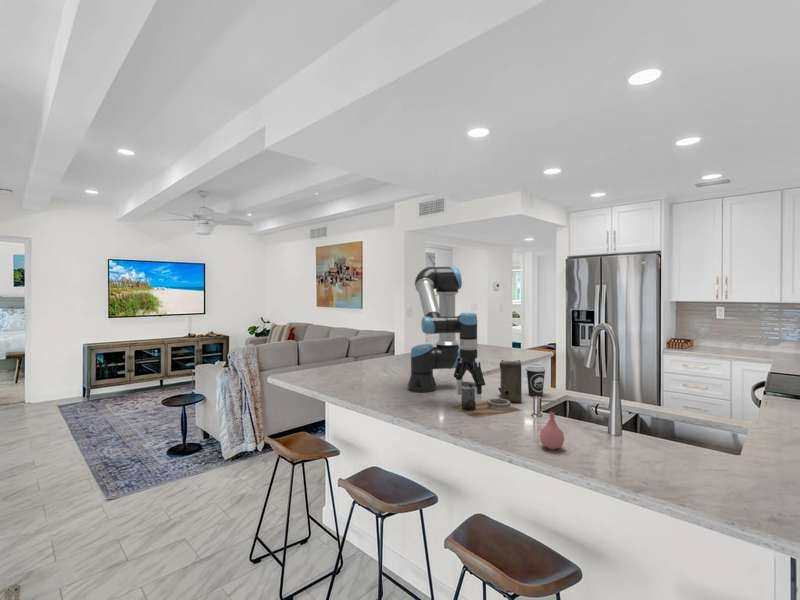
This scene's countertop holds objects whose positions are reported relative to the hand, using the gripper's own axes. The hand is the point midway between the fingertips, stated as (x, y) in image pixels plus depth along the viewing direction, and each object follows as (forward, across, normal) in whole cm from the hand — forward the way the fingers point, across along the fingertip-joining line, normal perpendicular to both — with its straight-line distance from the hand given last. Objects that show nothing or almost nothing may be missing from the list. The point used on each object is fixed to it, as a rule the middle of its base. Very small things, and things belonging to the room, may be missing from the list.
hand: (468, 397), depth 180 cm
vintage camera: (+6, -9, +29) cm, 31 cm away
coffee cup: (+6, -8, +45) cm, 46 cm away
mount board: (+6, +3, +7) cm, 10 cm away
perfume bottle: (+7, +46, +2) cm, 46 cm away
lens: (+5, 0, 0) cm, 5 cm away
